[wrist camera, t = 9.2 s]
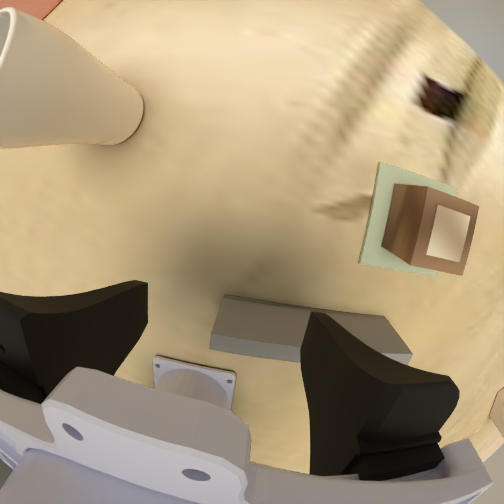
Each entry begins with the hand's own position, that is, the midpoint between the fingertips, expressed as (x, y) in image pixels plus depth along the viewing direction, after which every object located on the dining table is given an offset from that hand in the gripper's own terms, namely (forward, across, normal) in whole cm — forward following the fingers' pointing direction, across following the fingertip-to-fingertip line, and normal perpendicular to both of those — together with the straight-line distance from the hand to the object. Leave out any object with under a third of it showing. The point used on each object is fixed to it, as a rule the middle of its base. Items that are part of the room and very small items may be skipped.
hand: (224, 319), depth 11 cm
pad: (+10, -13, -5) cm, 17 cm away
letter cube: (+10, -13, -5) cm, 17 cm away
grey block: (+10, -6, +5) cm, 13 cm away
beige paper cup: (+10, +12, -10) cm, 19 cm away
